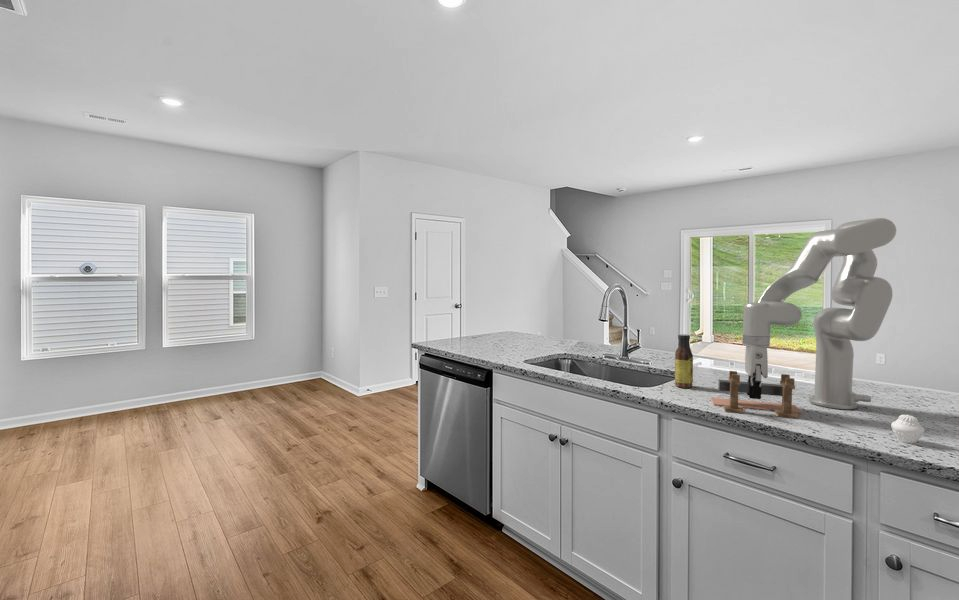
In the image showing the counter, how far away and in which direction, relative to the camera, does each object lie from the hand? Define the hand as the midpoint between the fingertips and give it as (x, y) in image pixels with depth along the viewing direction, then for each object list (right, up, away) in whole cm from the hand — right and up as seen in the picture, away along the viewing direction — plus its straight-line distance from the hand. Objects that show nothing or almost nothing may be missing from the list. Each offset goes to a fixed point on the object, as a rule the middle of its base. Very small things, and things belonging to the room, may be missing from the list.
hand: (753, 396), depth 143 cm
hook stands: (-3, -4, -7) cm, 8 cm away
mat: (0, -3, 0) cm, 3 cm away
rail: (0, +1, 0) cm, 1 cm away
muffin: (+20, -5, -30) cm, 37 cm away
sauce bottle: (-11, -2, +25) cm, 28 cm away
